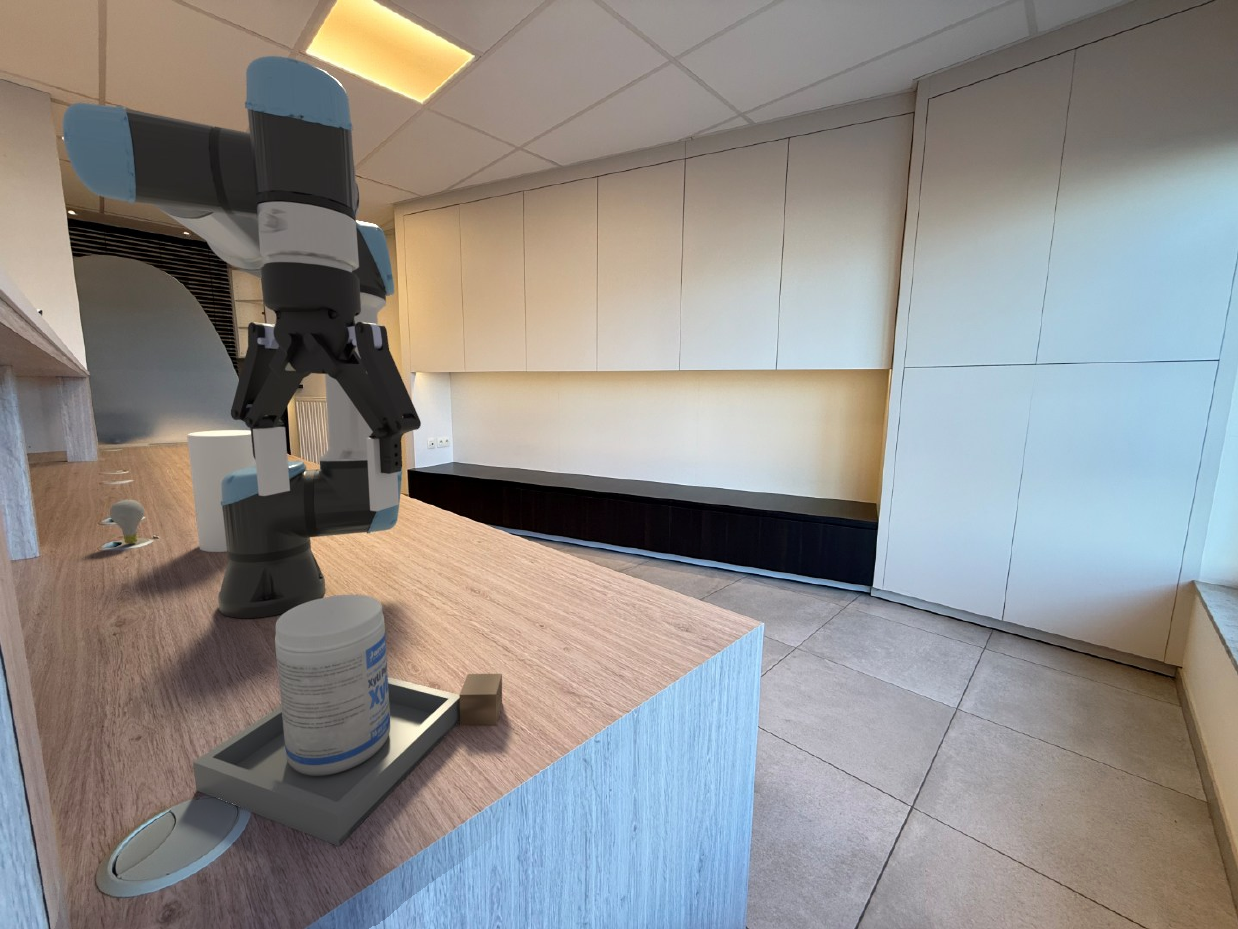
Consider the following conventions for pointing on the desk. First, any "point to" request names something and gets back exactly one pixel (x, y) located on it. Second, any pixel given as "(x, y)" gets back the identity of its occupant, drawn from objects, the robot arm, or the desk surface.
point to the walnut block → (481, 700)
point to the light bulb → (127, 518)
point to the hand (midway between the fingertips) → (327, 500)
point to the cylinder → (215, 478)
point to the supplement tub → (333, 683)
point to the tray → (337, 801)
